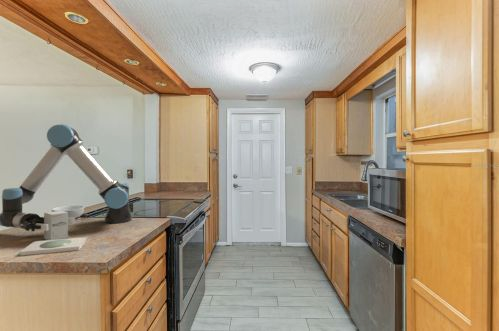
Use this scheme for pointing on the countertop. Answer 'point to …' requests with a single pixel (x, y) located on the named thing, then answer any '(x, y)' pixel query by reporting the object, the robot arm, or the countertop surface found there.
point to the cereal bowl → (71, 210)
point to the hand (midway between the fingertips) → (61, 223)
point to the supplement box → (56, 225)
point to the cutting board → (53, 246)
